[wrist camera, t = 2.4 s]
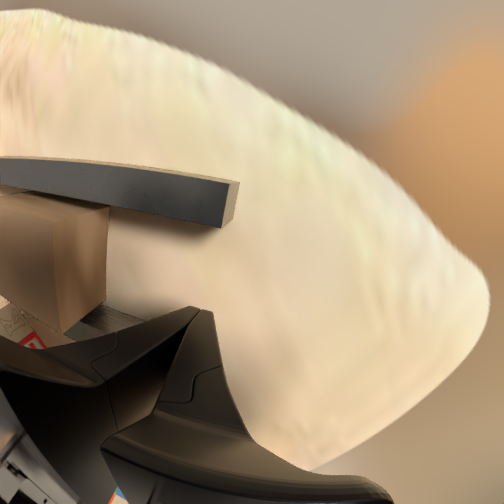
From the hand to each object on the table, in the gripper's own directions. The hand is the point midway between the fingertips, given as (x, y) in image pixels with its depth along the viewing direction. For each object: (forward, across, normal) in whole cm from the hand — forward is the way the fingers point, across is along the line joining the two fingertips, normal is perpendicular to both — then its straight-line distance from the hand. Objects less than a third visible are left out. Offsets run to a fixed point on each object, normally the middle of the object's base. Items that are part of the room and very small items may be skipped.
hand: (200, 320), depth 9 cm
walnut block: (+3, +9, 0) cm, 10 cm away
